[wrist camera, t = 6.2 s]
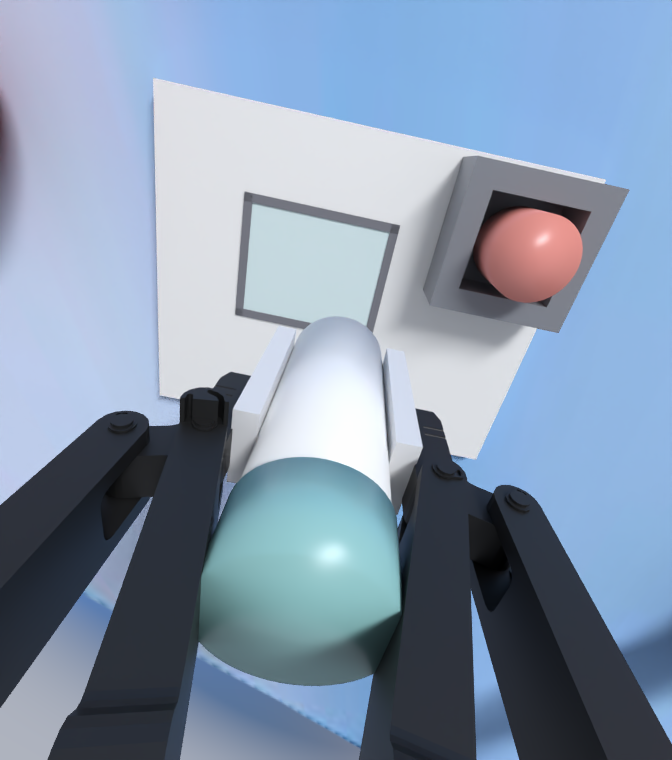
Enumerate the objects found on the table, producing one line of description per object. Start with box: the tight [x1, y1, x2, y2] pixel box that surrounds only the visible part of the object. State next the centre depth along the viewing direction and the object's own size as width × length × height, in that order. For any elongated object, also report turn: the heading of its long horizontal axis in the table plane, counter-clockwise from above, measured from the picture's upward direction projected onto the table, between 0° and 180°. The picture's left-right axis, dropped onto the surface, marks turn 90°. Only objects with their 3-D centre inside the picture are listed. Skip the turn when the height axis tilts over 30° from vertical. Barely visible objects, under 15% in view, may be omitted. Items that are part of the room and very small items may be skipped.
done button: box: [473, 206, 583, 303], centre depth 25 cm, size 5×5×4 cm
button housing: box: [423, 156, 629, 333], centre depth 27 cm, size 9×9×4 cm
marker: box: [198, 316, 403, 686], centre depth 13 cm, size 4×4×12 cm
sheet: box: [153, 78, 606, 460], centre depth 32 cm, size 24×30×1 cm
